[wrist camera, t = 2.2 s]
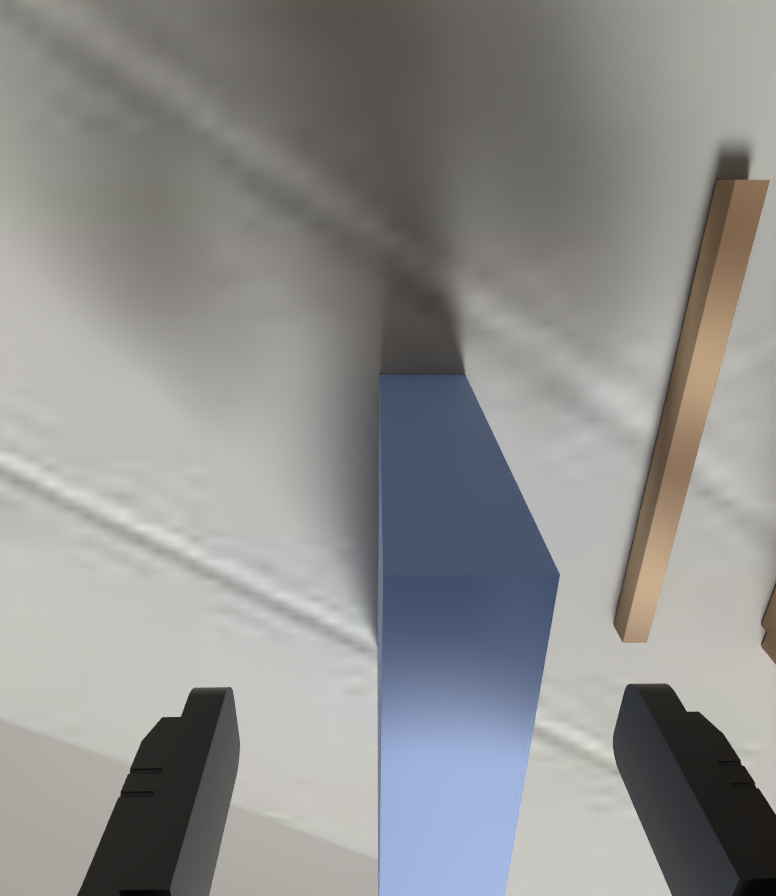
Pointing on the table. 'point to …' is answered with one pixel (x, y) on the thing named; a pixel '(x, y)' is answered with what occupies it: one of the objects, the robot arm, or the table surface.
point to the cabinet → (692, 403)
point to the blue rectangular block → (453, 641)
